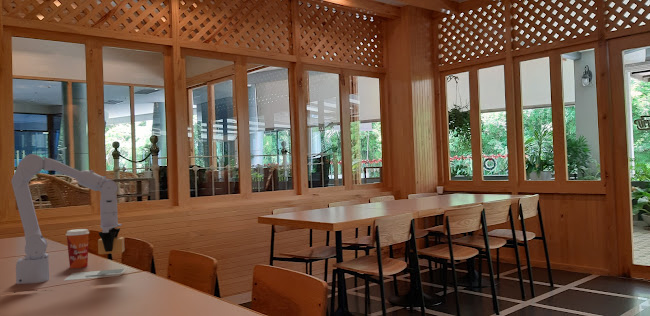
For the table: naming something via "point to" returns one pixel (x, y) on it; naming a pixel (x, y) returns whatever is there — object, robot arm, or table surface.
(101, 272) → the board
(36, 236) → the robot arm
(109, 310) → the table surface
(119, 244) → the block
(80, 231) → the coffee cup
